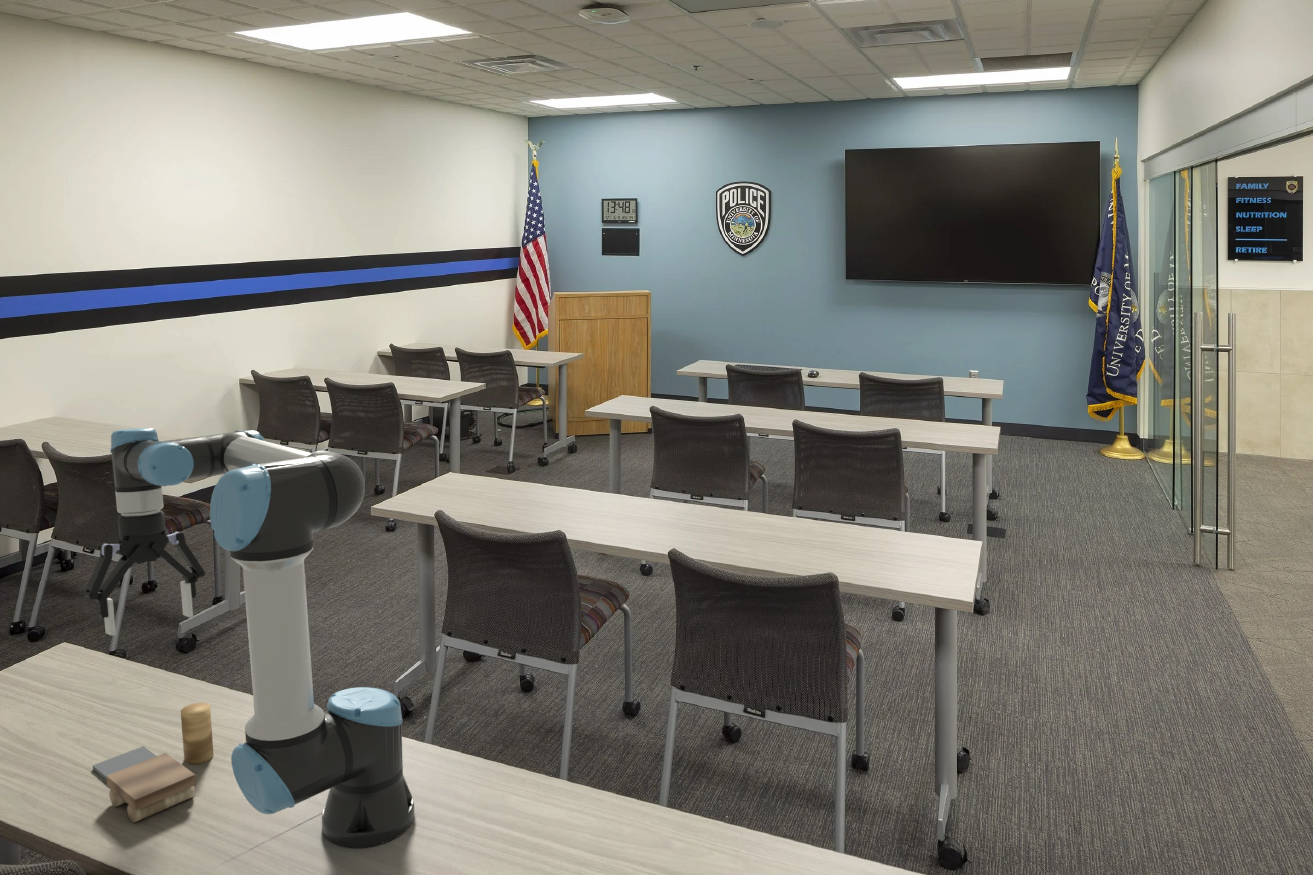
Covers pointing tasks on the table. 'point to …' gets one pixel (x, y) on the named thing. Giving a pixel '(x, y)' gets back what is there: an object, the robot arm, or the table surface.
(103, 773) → the pad
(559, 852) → the table surface
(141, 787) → the slab
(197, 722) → the roller
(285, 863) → the table surface
